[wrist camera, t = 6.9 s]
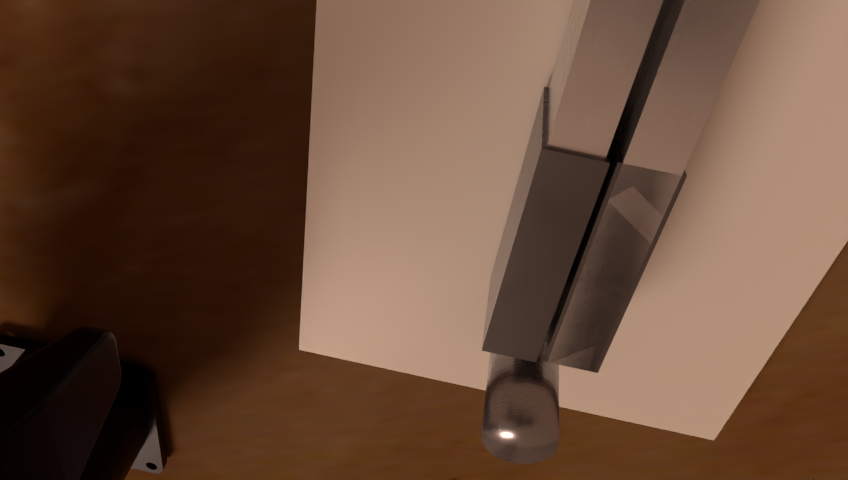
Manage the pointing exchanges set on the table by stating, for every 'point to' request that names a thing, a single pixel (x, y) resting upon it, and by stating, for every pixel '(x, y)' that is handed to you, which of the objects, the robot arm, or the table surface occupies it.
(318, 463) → the table surface
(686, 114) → the tongs fixed arm
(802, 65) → the cutting board
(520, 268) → the tongs moving arm
